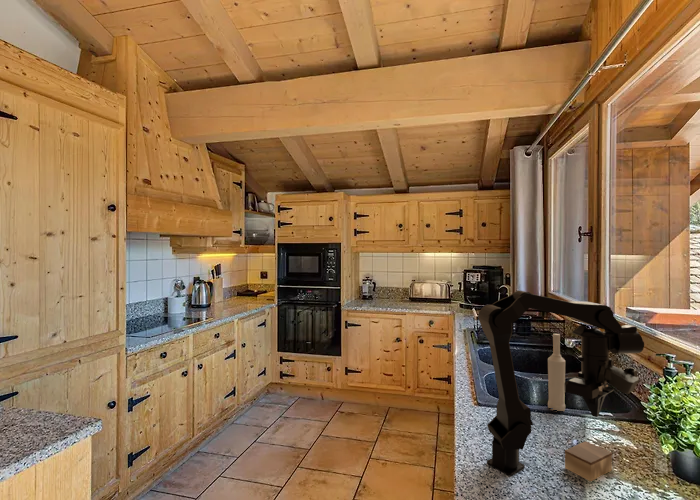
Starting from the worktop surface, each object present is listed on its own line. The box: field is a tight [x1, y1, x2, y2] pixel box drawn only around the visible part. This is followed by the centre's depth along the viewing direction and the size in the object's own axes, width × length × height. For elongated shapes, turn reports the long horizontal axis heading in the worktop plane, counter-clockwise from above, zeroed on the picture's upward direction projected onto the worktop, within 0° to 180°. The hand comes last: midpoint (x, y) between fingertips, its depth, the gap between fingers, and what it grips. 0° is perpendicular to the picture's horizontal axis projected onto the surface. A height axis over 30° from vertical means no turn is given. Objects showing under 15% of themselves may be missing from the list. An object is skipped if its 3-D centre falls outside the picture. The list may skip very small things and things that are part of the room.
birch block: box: [564, 440, 613, 482], centre depth 90 cm, size 4×6×9 cm
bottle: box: [547, 333, 566, 412], centre depth 124 cm, size 5×5×25 cm
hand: (595, 416), depth 92 cm, fingers closed
